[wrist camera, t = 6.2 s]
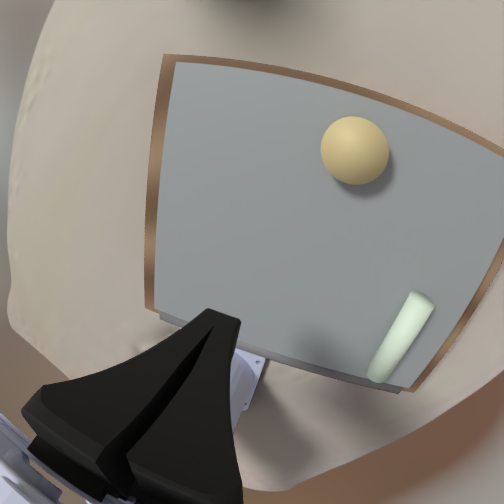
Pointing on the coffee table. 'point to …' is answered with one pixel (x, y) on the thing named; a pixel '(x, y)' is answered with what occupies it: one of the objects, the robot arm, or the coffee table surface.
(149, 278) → the walnut base
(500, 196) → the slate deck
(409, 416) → the coffee table surface
